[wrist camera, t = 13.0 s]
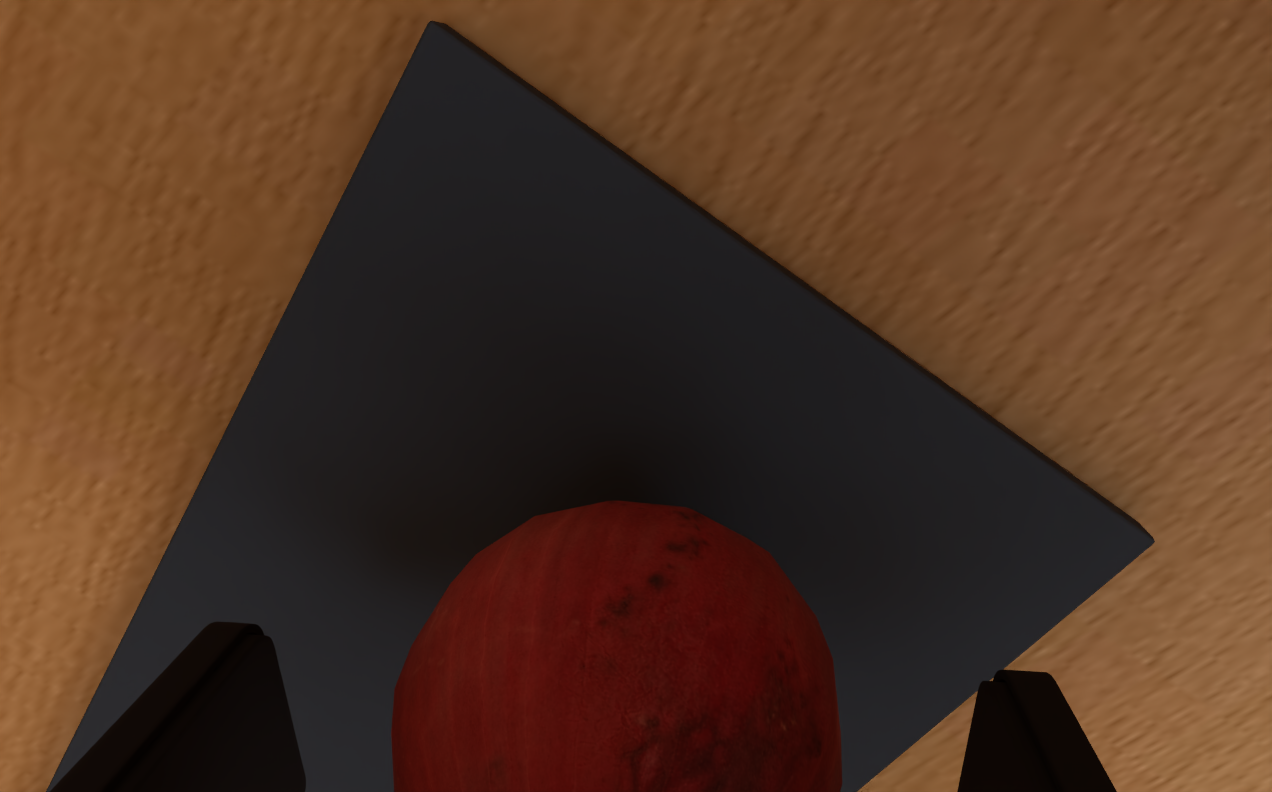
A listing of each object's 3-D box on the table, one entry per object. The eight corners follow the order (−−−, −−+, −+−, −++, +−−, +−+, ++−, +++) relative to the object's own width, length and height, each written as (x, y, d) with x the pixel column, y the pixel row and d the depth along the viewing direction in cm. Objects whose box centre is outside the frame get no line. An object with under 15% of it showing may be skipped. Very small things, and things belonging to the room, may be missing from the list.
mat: (443, 21, 11) (428, 18, 11) (1140, 523, 13) (1157, 542, 13) (17, 865, 20) (-3, 887, 20) (471, 1094, 22) (465, 1120, 21)
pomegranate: (684, 347, 12) (628, 751, 5) (872, 600, 14) (1048, 1208, 6) (423, 519, 14) (92, 1009, 7) (613, 728, 15) (516, 1320, 8)
